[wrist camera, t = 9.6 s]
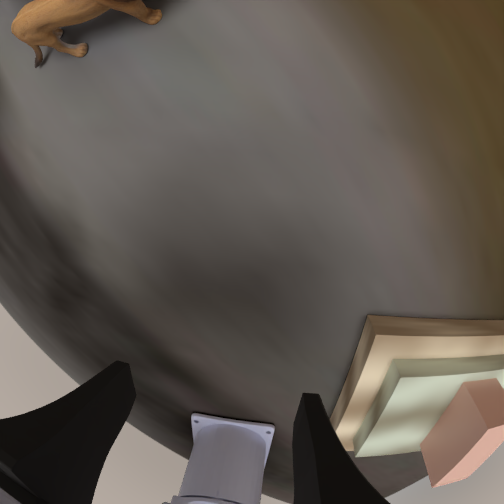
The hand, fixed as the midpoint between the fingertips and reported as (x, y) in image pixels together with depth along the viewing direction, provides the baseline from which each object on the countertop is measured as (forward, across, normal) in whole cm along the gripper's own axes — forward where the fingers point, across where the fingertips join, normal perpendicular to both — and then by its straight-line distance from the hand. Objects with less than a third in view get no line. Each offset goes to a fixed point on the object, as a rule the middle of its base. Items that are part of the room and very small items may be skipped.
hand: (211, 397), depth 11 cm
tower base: (+10, -19, +8) cm, 23 cm away
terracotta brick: (+5, -19, +8) cm, 21 cm away
